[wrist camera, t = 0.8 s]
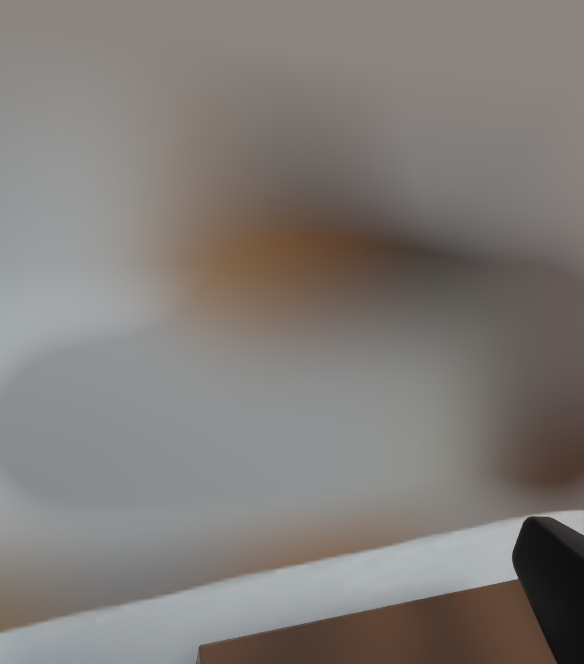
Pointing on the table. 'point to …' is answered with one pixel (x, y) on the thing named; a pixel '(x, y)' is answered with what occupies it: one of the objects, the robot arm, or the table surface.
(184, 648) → the table surface
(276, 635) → the cabinet
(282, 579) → the table surface
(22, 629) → the table surface
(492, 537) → the table surface
